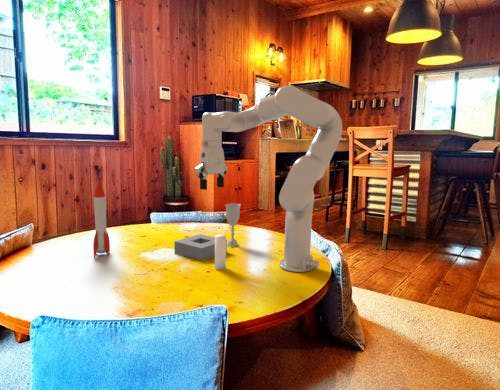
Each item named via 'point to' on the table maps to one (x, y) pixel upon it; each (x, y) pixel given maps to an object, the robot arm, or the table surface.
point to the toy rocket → (100, 222)
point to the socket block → (196, 247)
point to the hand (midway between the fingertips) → (212, 188)
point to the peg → (220, 252)
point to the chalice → (232, 220)
